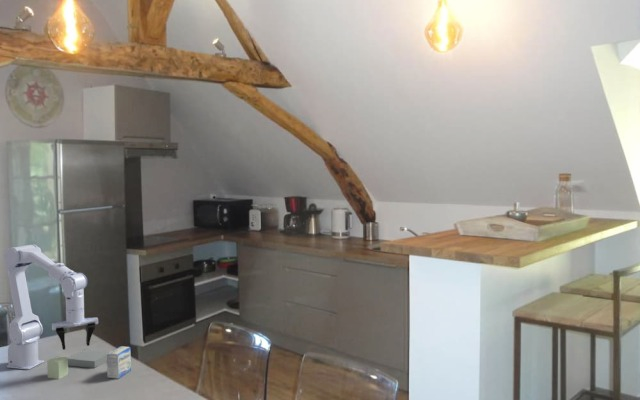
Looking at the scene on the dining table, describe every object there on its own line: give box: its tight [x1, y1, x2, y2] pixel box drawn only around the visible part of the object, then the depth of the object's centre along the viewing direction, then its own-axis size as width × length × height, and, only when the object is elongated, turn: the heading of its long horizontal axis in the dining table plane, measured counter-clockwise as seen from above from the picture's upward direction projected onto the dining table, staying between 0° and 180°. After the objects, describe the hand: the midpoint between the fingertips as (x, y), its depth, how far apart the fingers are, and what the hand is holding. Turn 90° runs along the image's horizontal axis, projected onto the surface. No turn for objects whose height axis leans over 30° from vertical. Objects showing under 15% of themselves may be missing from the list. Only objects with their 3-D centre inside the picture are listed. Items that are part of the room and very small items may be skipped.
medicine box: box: [106, 345, 132, 380], centre depth 182 cm, size 8×4×9 cm, turn 168°
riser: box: [67, 349, 111, 369], centre depth 194 cm, size 12×10×2 cm
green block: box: [46, 355, 69, 380], centre depth 181 cm, size 4×4×6 cm
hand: (76, 346), depth 183 cm, fingers open, 7 cm apart
